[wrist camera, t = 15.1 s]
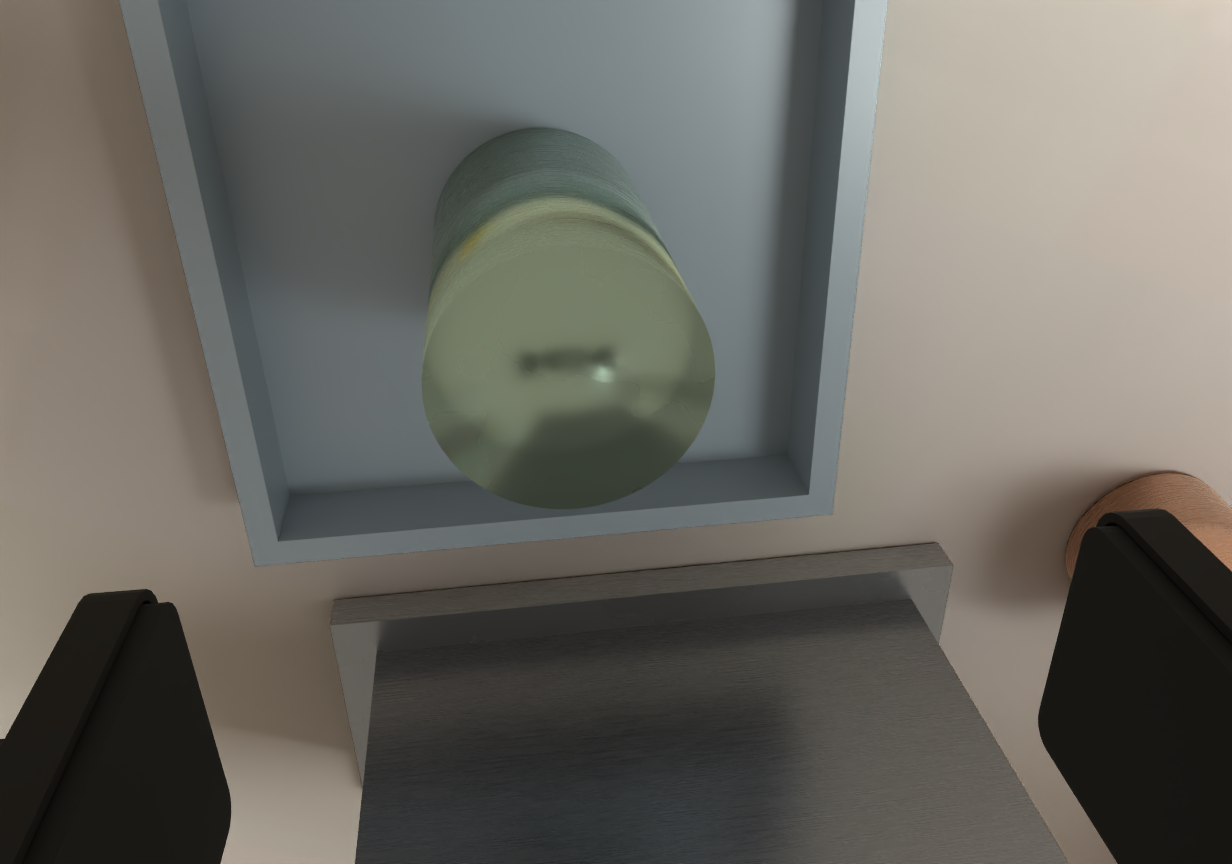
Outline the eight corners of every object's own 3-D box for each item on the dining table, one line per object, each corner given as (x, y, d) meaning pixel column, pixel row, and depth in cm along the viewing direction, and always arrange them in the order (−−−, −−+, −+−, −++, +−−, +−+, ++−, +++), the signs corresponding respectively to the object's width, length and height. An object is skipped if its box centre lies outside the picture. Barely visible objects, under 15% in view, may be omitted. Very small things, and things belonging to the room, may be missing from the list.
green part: (643, 120, 21) (718, 234, 15) (647, 323, 23) (713, 495, 17) (421, 134, 20) (402, 258, 14) (446, 339, 22) (440, 522, 16)
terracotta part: (1233, 460, 27) (1437, 642, 22) (1207, 584, 30) (1385, 780, 24) (1072, 490, 27) (1231, 680, 22) (1059, 611, 30) (1199, 814, 24)
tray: (854, -128, 19) (901, -124, 17) (802, 460, 26) (832, 514, 24) (135, -112, 18) (93, -105, 16) (271, 505, 25) (254, 566, 22)
